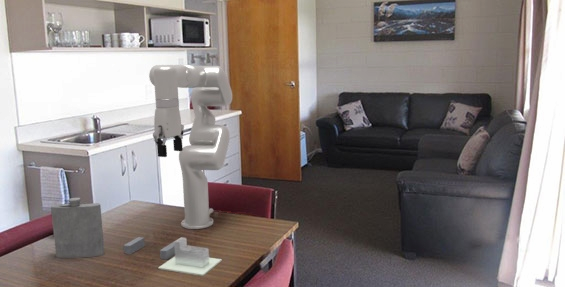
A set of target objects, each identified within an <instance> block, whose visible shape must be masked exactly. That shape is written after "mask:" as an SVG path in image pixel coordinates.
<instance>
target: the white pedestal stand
mask: <svg viewBox="0 0 565 287" xmlns="http://www.w3.org/2000/svg"><path fill="white" fill-rule="evenodd" d="M187 241H188V240H187V237H183V236H182V237H180V238H178V239H176V240H174V241H173V242H174V247H175V255H174V257H175V263H176V264H180V265H186V266H193V267H199V268H204V267H205V266H206V265H208V264H209V258H210V249H209V247H202V246H194V245H188V242H187Z"/></svg>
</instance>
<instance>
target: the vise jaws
mask: <svg viewBox="0 0 565 287" xmlns="http://www.w3.org/2000/svg"><path fill="white" fill-rule="evenodd" d="M145 242H146V241H145V237H140V236H137V237H136V238H134V239H132V240H131V241H129V242H127V243H125V244H123V253H124V254H126V255H132V254H134V253H135V252H136V251H139V250H141V249H142V248H144V247H145V246H146V243H145ZM159 254H160V256H159V257H160V259H161V260H165V261H166V260H167V261H169V260H170V259H172V258H173V257H174V256H175V247H174V241H172V242H171V243H169V244H168V245H166V246H164V247H163V248H162V249H160V250H159Z"/></svg>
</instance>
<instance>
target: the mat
mask: <svg viewBox="0 0 565 287" xmlns="http://www.w3.org/2000/svg"><path fill="white" fill-rule="evenodd" d="M222 261H223V260H222V259H221V258H215V257H209V264H208V265H206V266H205V267H204V268H199V267H193V266H186V265H180V264H176V263H175V256H172V257H171V258H169V259H168V260H167V261H165V262H164V263H163V264H162V265H160V266H159V267H158V270H162V271H168V272H169V271H170V272H176V273H181V274H188V275H194V276H200V277H204V276H206V274H208V273H209V272H210V271H211V270H212V269H214V268H215V267H216V266H217V265H218V264H220V263H221V262H222Z"/></svg>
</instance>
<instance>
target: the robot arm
mask: <svg viewBox="0 0 565 287" xmlns="http://www.w3.org/2000/svg"><path fill="white" fill-rule="evenodd" d="M148 74H149V75H148V76H149V81H150V83H151V84H152V85H153V86H154V96H155V97H154V98H155V110H154V119H153V120H154V124H153V126H154V128H153V130H154V132H152V137H153V140H154V142H155V145H156V146H157V157H158V158H167V157H168V152H167V151H168V150H167V144H166V142H167V139H171V138H174V139H172V141H173V151H175V152H179V154H178V161H179V165H180V168H181V169H180V170H181V175H182V176H181V177H182V189H183V190H182V191H183V207H184V208H183V210H184V219H182V221H181V223H180V226H181V227H182V228H184V229H189V230H199V229H200V230H201V229H206V228H209V227H211V226H212V225H213V224H214V218H212V217H210V215H212V214H213V213H214V209H213V208H212V207H211V208H210V207H209V204H210V203H209V185H208V184H209V183H208V178H207V176H206V174H205V173H204V172H203V171H219V170H221V169H222V168H223V167H224V164H225V159H226V158H227V157H226V156H227V154H228V153H227V152H228V149H229V144H230V131H229V129H228V127H227V126H226V125H224V124H216V117H215V115H214V113H213V112H212V111H211V110H210V109H209V107H226V106H229V105H230V104H232V102H233V91H232V88H231V86H230V85H231V84H230V82H229V79H228V76H227V74H226V72H225V70H224V69H223V68H222V67H221V66H220V65H193V64H158V65H157V64H156V65H153V66H152V67H151V69H150V70H149V73H148ZM178 88H181V89H182V88H184V89H185V88H186V89H187V88H188V89H190V88H191V89H192V90H191V93H190V98H191V101H190V102H191V105H192V109H193V113H194V120H193V121H192V122H193V123H192V126H191V129H190V131H189V138H188V141H189V144H190V145H185V146H183V136H184V128H185V126H184V124H182V120H181V119H182V118H181V112H180V100H179V89H178Z"/></svg>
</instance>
